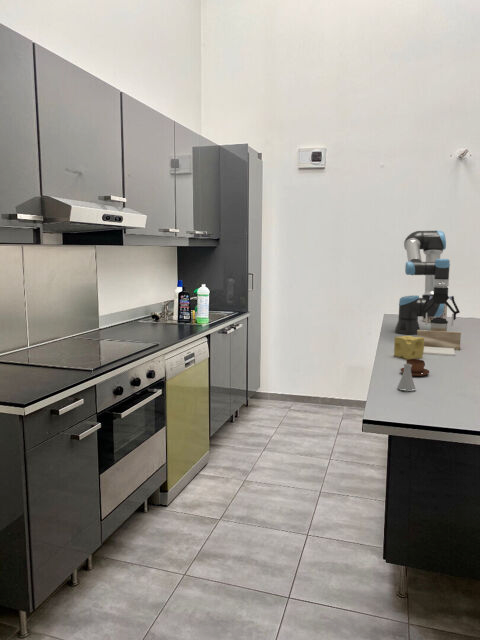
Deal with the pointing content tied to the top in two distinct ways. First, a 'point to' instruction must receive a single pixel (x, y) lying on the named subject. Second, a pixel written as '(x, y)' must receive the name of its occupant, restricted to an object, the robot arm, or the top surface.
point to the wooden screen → (440, 339)
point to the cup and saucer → (417, 367)
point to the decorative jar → (440, 316)
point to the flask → (406, 379)
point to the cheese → (409, 347)
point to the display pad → (439, 351)
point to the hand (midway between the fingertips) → (439, 325)
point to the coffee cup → (439, 324)
